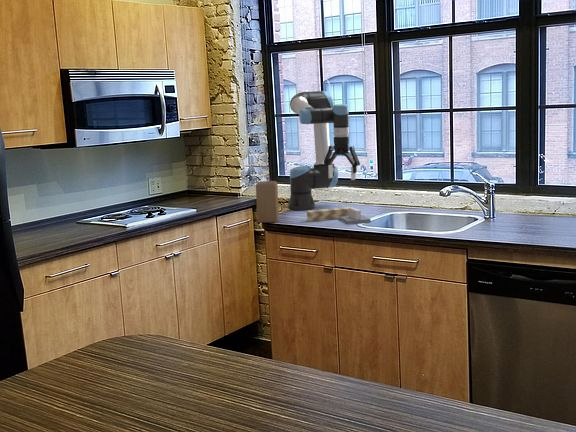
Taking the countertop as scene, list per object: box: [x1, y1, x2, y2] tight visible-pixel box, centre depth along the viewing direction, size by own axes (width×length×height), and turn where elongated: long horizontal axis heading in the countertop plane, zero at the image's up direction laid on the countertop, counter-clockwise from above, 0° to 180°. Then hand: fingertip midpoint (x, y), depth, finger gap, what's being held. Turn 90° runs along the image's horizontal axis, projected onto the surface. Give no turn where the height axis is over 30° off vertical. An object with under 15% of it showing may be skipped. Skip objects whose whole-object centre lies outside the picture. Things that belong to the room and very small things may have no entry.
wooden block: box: [255, 180, 280, 224], centre depth 342 cm, size 10×10×20 cm
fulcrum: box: [338, 206, 372, 225], centre depth 336 cm, size 12×12×6 cm
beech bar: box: [306, 206, 352, 222], centre depth 344 cm, size 24×4×5 cm, turn 107°
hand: (341, 178), depth 335 cm, fingers open, 13 cm apart
